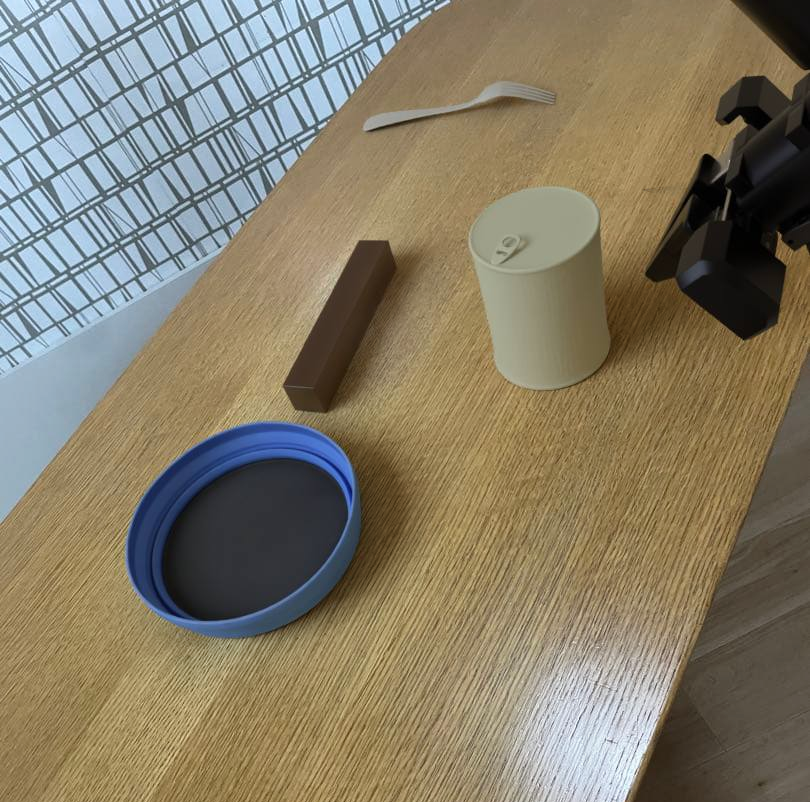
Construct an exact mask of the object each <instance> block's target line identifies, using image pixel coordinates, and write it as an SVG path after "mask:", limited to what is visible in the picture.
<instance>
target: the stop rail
mask: <svg viewBox="0 0 810 802" xmlns="http://www.w3.org/2000/svg"><path fill="white" fill-rule="evenodd" d="M396 269H397V263H396V260H395V258H394V254H393V250H392V248H391V245H390V241H389V240H388V239H387V240H386V239H385V240H383V239H379V240H378V239H375V240H374V239H359V240H358V241H357V243H356V245H355V247H354V249H353V251H352V252H351V254H350V256H349V258H348V260H347V262H346V264H345V265H344V267H343V270H342V272H341V273H340V275H339V277H338V279H337V281H336V282H335V284H334V287H333V288H332V291H330V294H329V296H328V298H327V300H326V302H325V304H324V306H323V307H322V310H321V311H320V313H319V315H318V317H317V319H316V321H315V323H314V325H313V327H312V329H311V331H310V332H309V334H308V336H307V337H306V340H305V341H304V343H303V345H302V348H301V350H300V351H299V353H298V355H297V357H296V359H295V361H294V362H293V364H292V366H291V368H290V370H289V372H288V374H287V375H286V378H285V380H284V381H283V383H282V388H283V390H284V392H285V394H286V396H287V397H288V399H289V401H290V403H291V405H292V407H293V409H294V411H300V412H309V413H320V414H326V413H327V412H328V410H329V408H330V406H331V404H332V401H333V400H334V397H335V396H336V393H337V391H338V390H339V387H340V385H341V383H342V382H343V379H344V377H345V376H346V373H347V371H348V369H349V367H350V365H351V363H352V360H353V358H354V356H355V354H356V352H357V350H358V348H359V346H360V344H361V342H362V340H363V338H364V335H365V334H366V332H367V330H368V327H369V325H370V323H371V321H372V319H373V316H374V315H375V312H376V310H377V308H378V307H379V306H380V305H379V304H380V303H381V300H382V298H383V297H384V295H385V292H386V290H387V288H388V287H389V284H390V282H391V280H392V278H393V275H394V274H395V272H396Z"/></svg>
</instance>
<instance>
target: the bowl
mask: <svg viewBox="0 0 810 802" xmlns="http://www.w3.org/2000/svg"><path fill="white" fill-rule="evenodd" d="M359 485H360V484H359V480H358V477H357V473H356V471H355V469H354V466H353V464H352V462H351V460H350V459H349V457H348V456H347V454H346V452H345V451H344V450H343V448H341V446H340V445H339V444H338V443H337V442H336V441H335V440H334V439H332V438H331V437H330V436H328V435H327V434H325V433H324V432H322V431H320V430H318V429H317V428H313V427H311V426H308V425H304V424H301V423H297V422H296V423H295V422H292V421H291V422H289V421H280V420H260V421H253V422H247V423H244V424H243V423H242V424H239V425H236V426H232V427H230V428H226V429H223V430H222V431H219V432H217V433H214V434H213V435H211V436H209V437H207V438H205V439H203V440H201V441H199V442H197V443H196V444H195V445H193V446H192V447H190V448H189V449H187V450H186V451H184V453H183V452H182V454H181V455H179V456H178V457H177V458H176V459H174V460H173V461H172V462H171V463H170V464H169V465H168V466H167V467H166V468H165V469H163V471H162V472H160V474H159V475H158V476H157V477H156V478H155V479H154V480H153V482H152V483H151V484H150V485H149V487H148V488H147V489H146V491H145V492H144V494H143V496H142V497H141V498H140V500H139V502H138V503H137V506H136V508H135V510H134V512H133V514H132V517H131V520H130V523H129V526H128V530H127V534H126V538H125V539H126V540H125V550H124V552H125V555H124V556H125V557H124V558H125V567H126V572H127V576H128V579H129V581H130V584H131V586H132V588H133V590H134V591H135V593H136V594H137V595H138V597H139V598H140V600H142V602H143V603H144V604H145V605H146V606H147V608H149V609H150V610H151V611H152V612H153V613H154V614H156V615H157V616H159V617H160V618H162V619H163V620H165V621H167V622H169V623H172V624H173V625H175V626H176V627H177V626H178V627H180V628H183V629H184V630H185V629H186V630H188V631H191V632H193V633H196V634H198V635H201V636H202V635H203V636H206V637H209V638H210V637H211V638H218V639H239V638H248V637H253V636H258V635H261V634H265V633H268V632H271V631H274V630H278V629H279V628H281V627H285V626H286V625H288V624H290V623H291V622H294V621H295V620H298V618H300V617H302V616H303V615H305V614H306V613H308V612H309V611H310V610H311V609H313V608H314V607H316V606H317V605H318V604H319V603H320V602H321V601H322V600H324V598H325V597H327V595H329V593H330V592H331V591H332V590H333V589H334V588H335V586H336V585H337V584H338V583H339V581H340V580H341V579H342V577H343V576H344V574H345V572H346V571H347V569H348V568H349V566H350V565H351V562H352V560H353V557H354V555H355V553H356V550H357V547H358V544H359V540H360V537H361V529H362V509H361V494H360V493H361V492H360V486H359Z"/></svg>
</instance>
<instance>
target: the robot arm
mask: <svg viewBox="0 0 810 802" xmlns="http://www.w3.org/2000/svg"><path fill="white" fill-rule="evenodd" d="M730 2H731V3H732V4H733V5H734V6H735V7H736V8H737V9H738V10H740V12H742V13H743V14H744V15H745V16H746V17H747V19H749V20H750V21H751V22H752V23H753V24H754V25H755V26H756V27H757V28H758V29H759V30H760V31H761V32H762V33H763V34H764V35H765V36H767V38H768V39H769V40H771V42H773V43H774V45H775V46H777V47H778V48H779V49H780V50H781V51H782V52H783V53H784V54H785V55H786V56H787V57H788V58H789V59H790V60H791V61H792V62H793V63H794V64H796V66H797V67H799V68H800V69H801V70H802V71H804V72H805V71H809V72H807V74H805V76H803V77H802V78H801V79H800V80H799V81H798V82H796V83H795V84H794V85H793V89H792V95H791V99H790V98H789V97H788V96H787V95H786V94H785V93H784V92H783V91H782V90H780V89H779V87H778V86H777V85H775V83H773V82H772V81H771V80H770V79H769V78H768V77H767V76H765V75H749V76H747V75H745V76H742V77H740V79H739V80H738V81H736V82H735V83H734V84H733V85H732V86H731V87H730V88H729V89H728V90H726V91H725V93H723V94H722V95H721V96H720V98H719V101H718V106H717V110H716V114H715V118H714V121H715V122H716V123H717V124H718V125H719V126H721V127H722V126H728V125H731V124H732V123H733V122H734V121H735V120H736V119H737V118H738V117H741V119H742V121H743V122H744V123H745V124H746V125H745V126H744V128H743V129H741V130H740V131H739V132H738V133H737V134H735V137H733V138H731V140H729V142H728V146H727V149H726V151H724V152H723V153H722V154H721V155H720V156H718V157H717V158H715V157H714V156H713V155H711V154H709V153H704V154H703V155H701V157H700V159H699V160H698V162H697V163H698V164H697V166H696V168H695V170H694V172H693V174H692V176H691V178H690V181H689V183H688V184H687V186H686V188H685V190H684V192H683V194H682V196H681V198H680V200H679V203H678V204H677V206H676V209H675V210H674V212H673V214H672V215H671V218H670V220H669V222H668V224H667V226H666V228H665V230H664V232H663V234H662V236H661V238H660V239H659V241H658V243H657V246H656V247H655V249H654V251H653V253H652V255H651V257H650V259H649V261H648V263H647V265H646V267H645V271H644V276H645V277H646V278H648V280H650V281H651V282H653V283H654V284H655V283H661V282H664V281H668V280H672V279H674V278H675V281H676V283H677V285H678V288H679V290H680V291H681V293H683V294H684V295H685V296H686V297H688V298H689V299H691V300H692V301H693V302H694V303H695V304H697V305H698V307H701V308H702V309H703V310H705V311H706V312H707V313H708V314H709V315H710V316H711V317H713V318H714V319H715V320H717V321H718V322H719V323H721V324H722V325H723V326H724V327H725V328H726V329H728V330H729V331H730V332H732V333H733V334H734V335H735V336H737V337H738V338H739V339H740V340H742V341H743V342H745V341H749V340H753V339H754V338H756V337H758V336H759V335H761V334H763V333H764V332H766V331H768V330H770V329H771V328H773V327H775V326H776V325H778V324H779V317H780V312H781V305H782V300H783V294H784V293H783V292H784V287H785V281H786V275H787V274H786V273H787V266H788V265H787V264H786V263H784V262H783V261H781V260H780V258H778V257H777V256H776V255H777V249H778V243H779V234H780V235H781V237H780V240H781V242H782V243H783V244H785V245H786V246H787V247H788V248H789V249H790V250H791V251H793V252H797V251H798V250H799V249H801V248H803V247H804V246H805V248H806V250H807V252H808V255H809V256H810V0H730Z"/></svg>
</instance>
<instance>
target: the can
mask: <svg viewBox="0 0 810 802" xmlns="http://www.w3.org/2000/svg"><path fill="white" fill-rule="evenodd" d="M601 221H602V218H601V212H600V210H599V207H598V205H597V203H596V201H594V200H593V199H592V198H591V197H590V196H589V195H588V194H586V193H584V192H583V191H580V190H577V189H575V188H571V187H567V186H559V185H540V186H533V187H529V188H524V189H521V190H517V191H515V192H512V193H509V194H507V195H505V196H503V197H501V198H499V199H498V200H496V201H494V202H493V203H491V204H489V205H488V206H487V207H486V208H485V209H483V211H481V212H480V214H479V215H478V216H477V217H476V219H475V220H474V221H473V223H472V225H471V227H470V230H469V232H468V248H469V251H470V253H471V256H472V260H473V263H474V267H475V272H476V276H477V281H478V284H479V289H480V293H481V297H482V301H483V302H482V303H483V306H484V310H485V314H486V318H487V323H488V328H489V332H490V338H491V342H492V347H493V361H494V364H495V367H496V369H497V370H498V372H499V374H500V375H501V376H502V377H503V378H504V379H506V380H507V381H508V382H510V383H511V384H513V385H515V386H518V387H519V388H523V389H527V390H530V391H531V390H532V391H554V390H559V389H560V390H561V389H565V388H568V387H570V386H573V385H576V384H578V383H580V382H583V381H584V380H585V379H587V378H589V377H591V375H593V374H594V373H596V371H598V369H599V368H601V366H602V365H603V364H604V362H605V360H606V359H607V358H608V355H609V352H610V348H611V342H612V341H611V334H610V330H609V327H608V318H607V310H606V309H607V307H606V296H605V294H606V293H605V281H604V270H603V268H604V267H603V253H602V237H601Z"/></svg>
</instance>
